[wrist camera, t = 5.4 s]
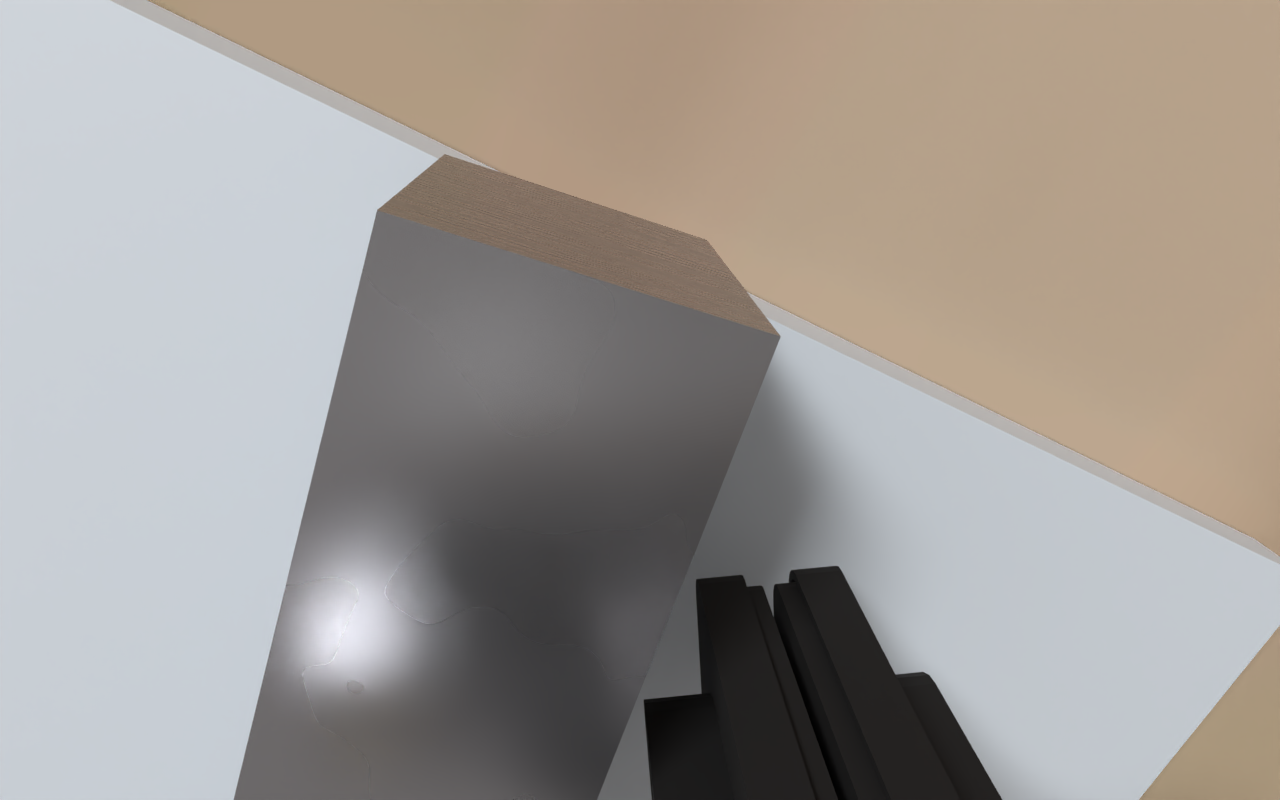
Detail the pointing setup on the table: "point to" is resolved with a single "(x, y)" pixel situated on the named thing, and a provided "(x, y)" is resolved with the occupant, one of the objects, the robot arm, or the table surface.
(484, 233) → the latch bar
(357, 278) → the door board
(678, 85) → the table surface
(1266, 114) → the table surface
